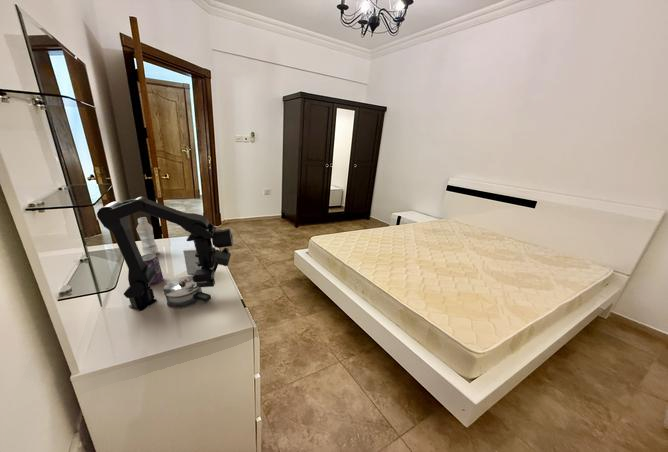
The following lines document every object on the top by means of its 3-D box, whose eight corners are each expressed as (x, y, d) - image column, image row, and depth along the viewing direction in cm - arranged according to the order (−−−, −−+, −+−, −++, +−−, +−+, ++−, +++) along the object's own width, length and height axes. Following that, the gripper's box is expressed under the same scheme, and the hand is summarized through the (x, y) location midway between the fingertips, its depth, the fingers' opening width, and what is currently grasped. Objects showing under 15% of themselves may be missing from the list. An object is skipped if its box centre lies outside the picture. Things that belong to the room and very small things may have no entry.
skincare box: (187, 274, 116) (182, 250, 111) (190, 269, 120) (186, 246, 115) (201, 273, 116) (196, 250, 112) (204, 268, 121) (200, 245, 116)
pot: (197, 316, 91) (194, 305, 89) (159, 304, 96) (156, 293, 94) (221, 296, 102) (220, 285, 100) (186, 286, 107) (184, 276, 105)
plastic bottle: (153, 257, 128) (144, 220, 121) (140, 257, 128) (130, 220, 121) (162, 251, 134) (153, 216, 127) (149, 251, 134) (140, 215, 127)
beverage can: (161, 275, 114) (155, 251, 110) (165, 282, 110) (159, 257, 105) (142, 281, 110) (135, 256, 105) (145, 288, 105) (138, 263, 100)
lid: (209, 295, 94) (208, 290, 93) (157, 298, 91) (155, 293, 90) (218, 276, 105) (218, 271, 104) (172, 279, 102) (171, 274, 102)
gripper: (222, 259, 88) (229, 295, 95) (231, 235, 105) (236, 267, 111) (187, 262, 86) (197, 298, 93) (202, 238, 103) (209, 270, 109)
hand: (212, 282), depth 101 cm, fingers closed
